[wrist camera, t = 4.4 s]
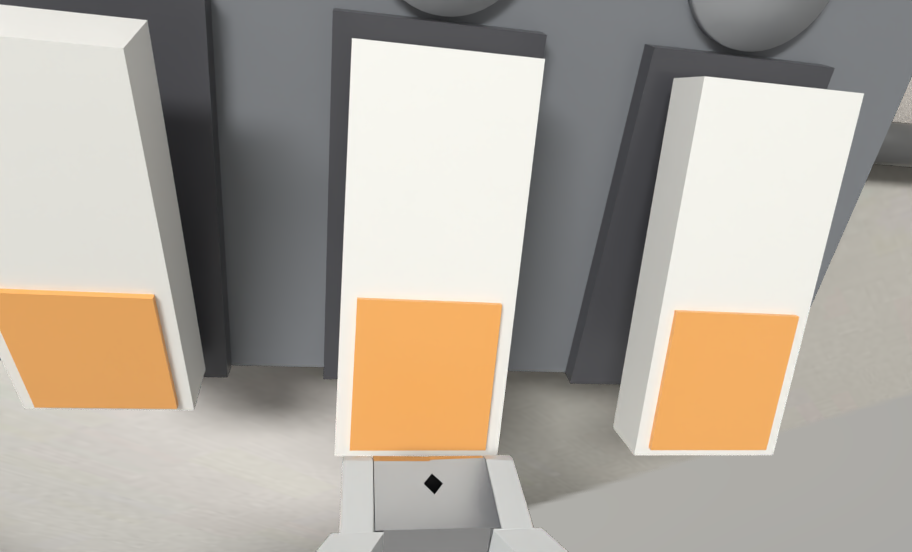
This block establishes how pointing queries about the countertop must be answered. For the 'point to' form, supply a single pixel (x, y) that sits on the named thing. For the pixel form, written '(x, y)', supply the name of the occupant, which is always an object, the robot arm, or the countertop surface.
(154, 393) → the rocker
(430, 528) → the robot arm
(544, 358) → the rocker switch panel
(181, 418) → the countertop surface
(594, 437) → the countertop surface
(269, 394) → the countertop surface
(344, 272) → the rocker middle
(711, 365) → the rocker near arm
